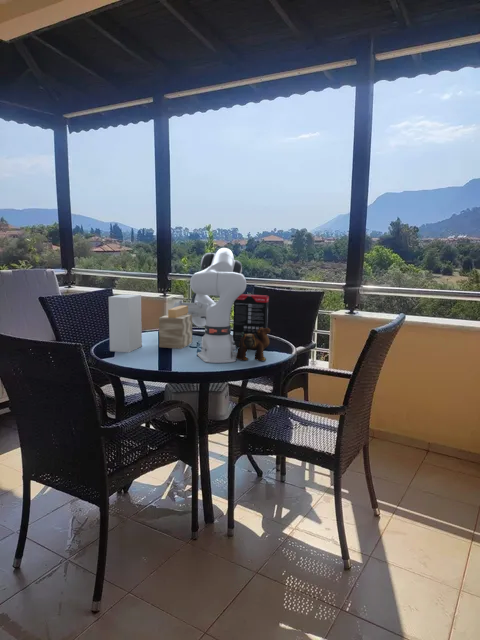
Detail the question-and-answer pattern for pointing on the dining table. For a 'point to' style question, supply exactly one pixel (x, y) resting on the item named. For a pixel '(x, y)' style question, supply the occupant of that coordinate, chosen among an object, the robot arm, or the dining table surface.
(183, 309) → the bar
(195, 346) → the dining table surface
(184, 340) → the pedestal
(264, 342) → the figurine
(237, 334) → the graphics card box
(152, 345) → the dining table surface
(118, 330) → the stand
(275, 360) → the dining table surface
